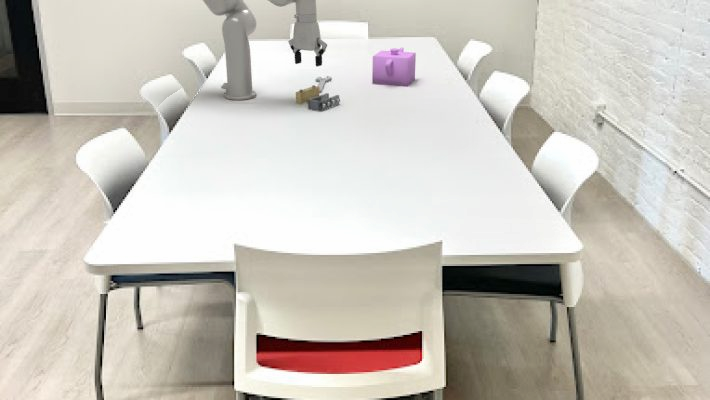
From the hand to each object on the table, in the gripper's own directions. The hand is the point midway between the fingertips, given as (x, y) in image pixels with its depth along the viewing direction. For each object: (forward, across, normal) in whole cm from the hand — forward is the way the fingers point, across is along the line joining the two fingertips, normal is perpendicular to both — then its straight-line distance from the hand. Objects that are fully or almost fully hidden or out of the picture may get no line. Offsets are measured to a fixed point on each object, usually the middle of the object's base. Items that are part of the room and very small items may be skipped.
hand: (308, 64), depth 285 cm
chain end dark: (+14, +10, -7) cm, 19 cm away
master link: (+14, -1, 0) cm, 14 cm away
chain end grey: (+14, +10, -1) cm, 17 cm away
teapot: (+15, +11, +46) cm, 49 cm away
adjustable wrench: (+14, -11, +22) cm, 28 cm away
